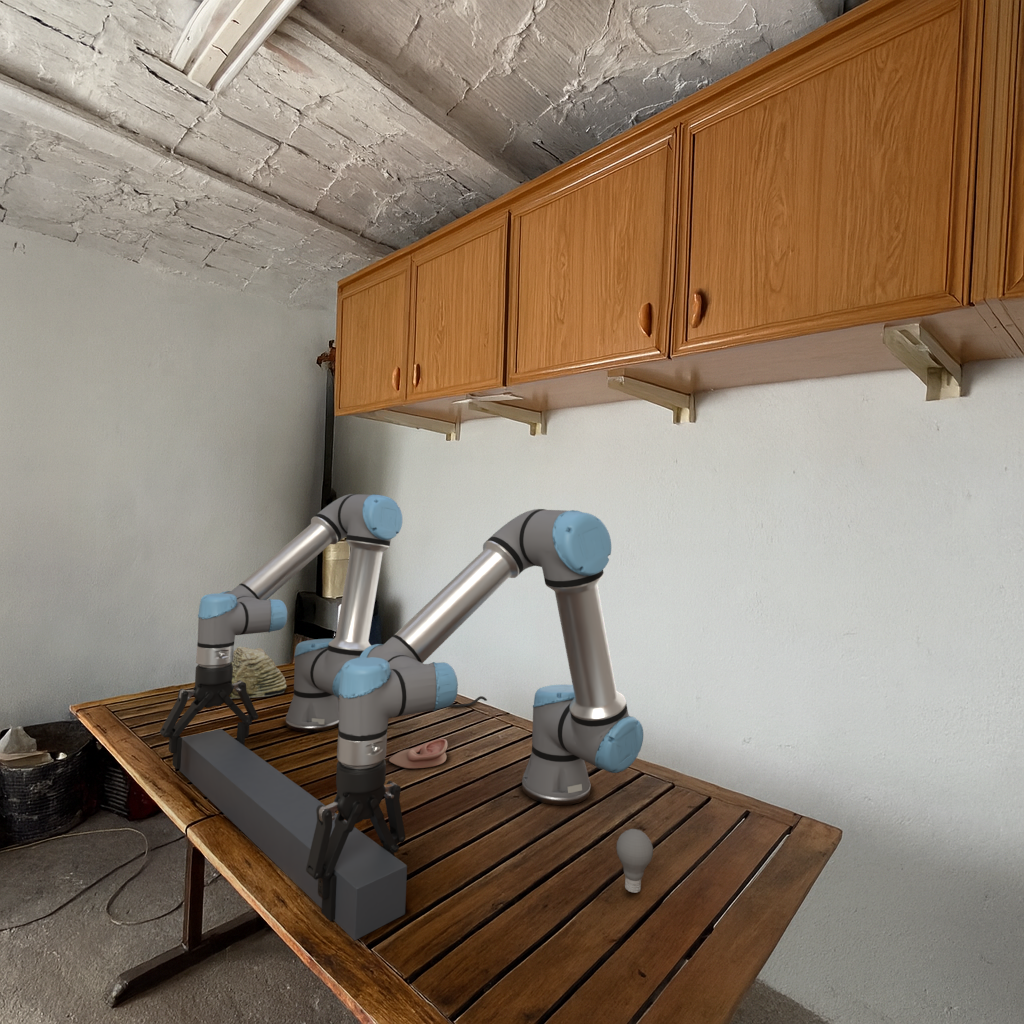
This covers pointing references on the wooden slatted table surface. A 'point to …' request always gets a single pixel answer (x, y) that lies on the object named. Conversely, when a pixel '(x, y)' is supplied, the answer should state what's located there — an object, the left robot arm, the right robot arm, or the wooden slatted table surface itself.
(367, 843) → the long dark gray bar
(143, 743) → the wooden slatted table surface
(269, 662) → the fossil
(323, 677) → the left robot arm
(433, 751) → the anatomical model
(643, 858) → the light bulb
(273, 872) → the wooden slatted table surface
